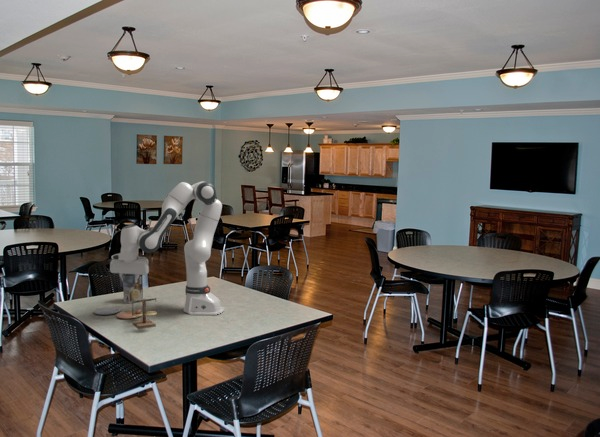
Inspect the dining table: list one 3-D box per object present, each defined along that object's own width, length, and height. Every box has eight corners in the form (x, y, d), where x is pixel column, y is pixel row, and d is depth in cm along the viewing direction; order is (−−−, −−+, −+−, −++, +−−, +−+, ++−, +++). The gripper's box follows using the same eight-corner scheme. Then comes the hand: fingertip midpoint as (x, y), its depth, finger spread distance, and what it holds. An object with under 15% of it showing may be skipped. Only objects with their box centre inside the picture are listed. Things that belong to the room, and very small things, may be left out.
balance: (160, 329, 252) (160, 298, 251) (144, 332, 248) (144, 301, 246) (143, 318, 271) (143, 289, 269) (128, 320, 266) (128, 291, 264)
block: (136, 285, 274) (136, 274, 274) (131, 287, 270) (131, 276, 269) (127, 284, 275) (127, 273, 275) (122, 286, 270) (122, 275, 270)
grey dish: (123, 310, 285) (123, 308, 285) (112, 316, 272) (112, 314, 272) (101, 308, 287) (101, 306, 287) (89, 314, 274) (88, 312, 274)
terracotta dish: (146, 313, 279) (146, 311, 279) (135, 320, 267) (135, 318, 266) (123, 312, 281) (123, 310, 281) (111, 318, 268) (111, 316, 268)
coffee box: (136, 299, 310) (136, 272, 308) (143, 301, 306) (143, 274, 304) (123, 302, 302) (122, 274, 301) (129, 304, 298) (129, 276, 297)
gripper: (151, 256, 273) (150, 282, 274) (114, 254, 275) (114, 279, 277) (145, 258, 266) (145, 284, 268) (108, 256, 269) (108, 282, 270)
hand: (129, 282), depth 272 cm, fingers closed on block, 5 cm apart
